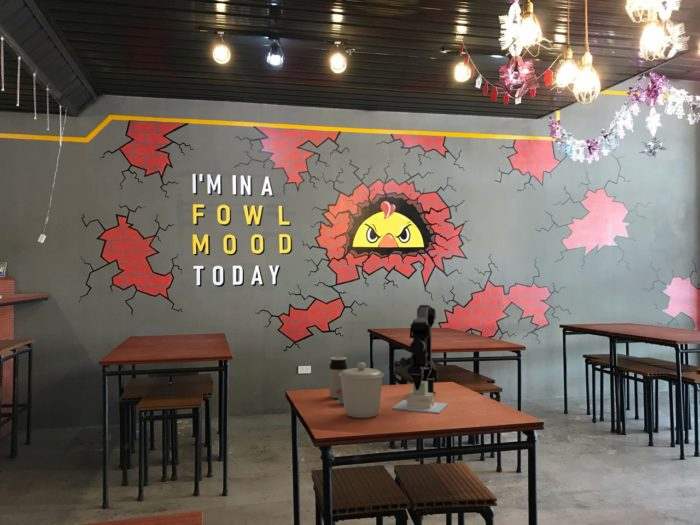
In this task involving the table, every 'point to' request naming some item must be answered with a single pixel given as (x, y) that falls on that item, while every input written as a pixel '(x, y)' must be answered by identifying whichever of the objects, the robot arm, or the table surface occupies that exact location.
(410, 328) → the robot arm
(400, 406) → the board
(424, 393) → the sage cube
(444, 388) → the table surface
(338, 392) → the cupcake
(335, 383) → the travel mug
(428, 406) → the birch brick
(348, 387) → the canister
